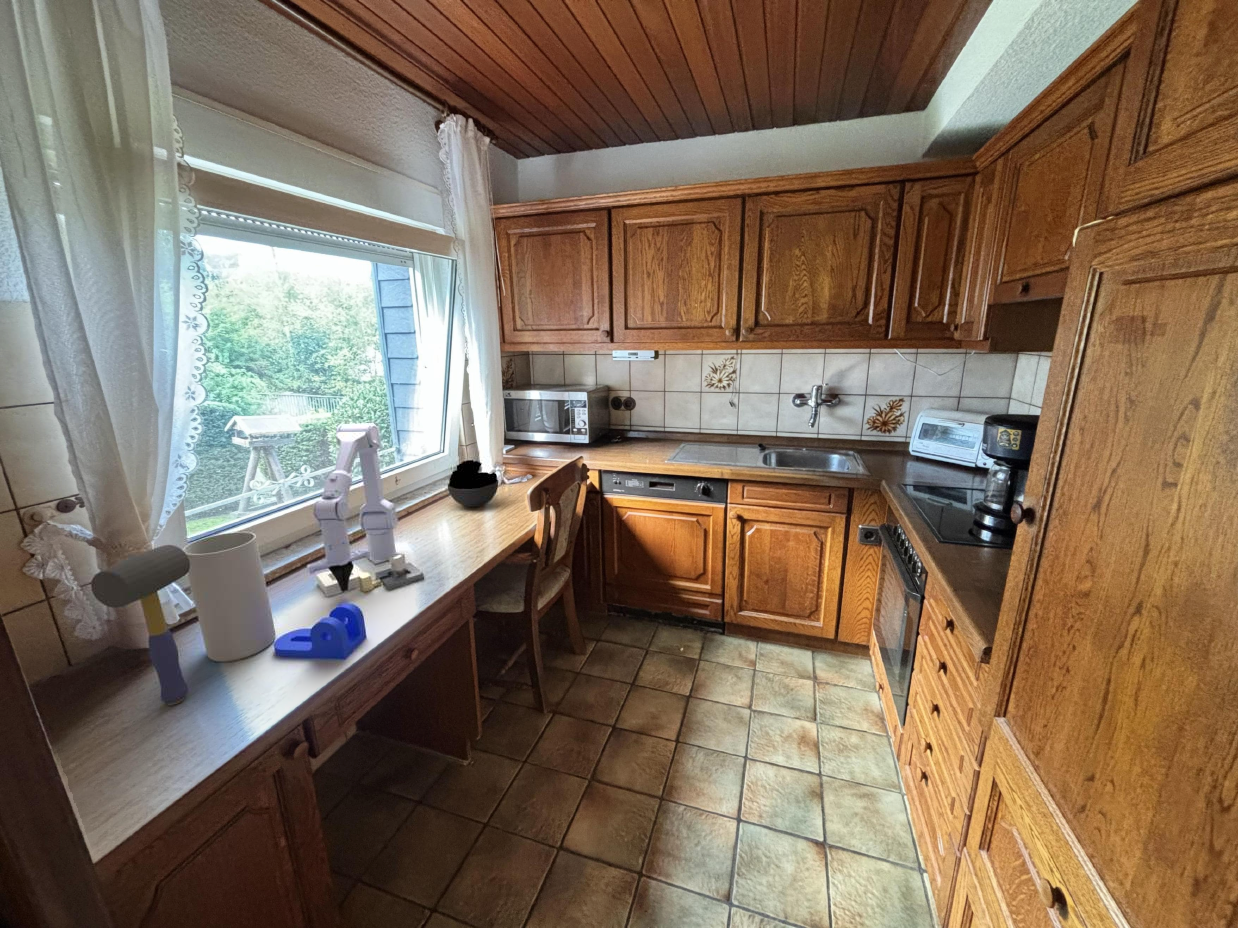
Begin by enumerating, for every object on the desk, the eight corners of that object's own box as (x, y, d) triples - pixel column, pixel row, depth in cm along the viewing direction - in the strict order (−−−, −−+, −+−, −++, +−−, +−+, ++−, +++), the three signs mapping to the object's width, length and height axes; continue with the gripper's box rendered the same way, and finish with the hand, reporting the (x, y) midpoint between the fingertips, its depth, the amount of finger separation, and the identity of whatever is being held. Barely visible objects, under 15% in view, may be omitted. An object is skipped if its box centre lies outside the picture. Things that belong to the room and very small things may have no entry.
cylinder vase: (194, 656, 110) (167, 550, 104) (251, 626, 122) (230, 529, 116) (233, 668, 106) (208, 558, 100) (289, 636, 118) (269, 535, 112)
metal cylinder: (390, 578, 146) (387, 556, 144) (404, 574, 148) (401, 552, 147) (395, 583, 143) (392, 560, 141) (409, 578, 145) (406, 556, 144)
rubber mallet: (188, 678, 103) (153, 541, 96) (222, 680, 103) (189, 541, 95) (125, 723, 91) (80, 570, 84) (163, 725, 90) (121, 571, 83)
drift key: (360, 588, 140) (358, 574, 139) (379, 582, 143) (377, 569, 142) (363, 591, 138) (361, 578, 137) (382, 585, 141) (380, 572, 140)
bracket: (366, 638, 117) (361, 602, 115) (345, 660, 109) (338, 622, 107) (293, 635, 118) (286, 600, 116) (266, 657, 110) (258, 620, 108)
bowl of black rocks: (487, 495, 222) (483, 454, 218) (508, 506, 207) (505, 461, 203) (442, 505, 210) (437, 461, 205) (461, 517, 195) (457, 470, 190)
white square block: (317, 584, 143) (316, 574, 142) (355, 573, 149) (354, 563, 149) (327, 596, 136) (325, 586, 135) (366, 584, 142) (365, 574, 142)
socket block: (375, 578, 146) (374, 572, 145) (410, 567, 152) (409, 562, 152) (388, 590, 139) (387, 584, 138) (424, 578, 145) (423, 572, 145)
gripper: (308, 554, 125) (317, 604, 128) (370, 538, 134) (377, 585, 137) (302, 546, 130) (310, 594, 133) (362, 531, 139) (369, 577, 142)
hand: (344, 589), depth 136 cm, fingers closed
